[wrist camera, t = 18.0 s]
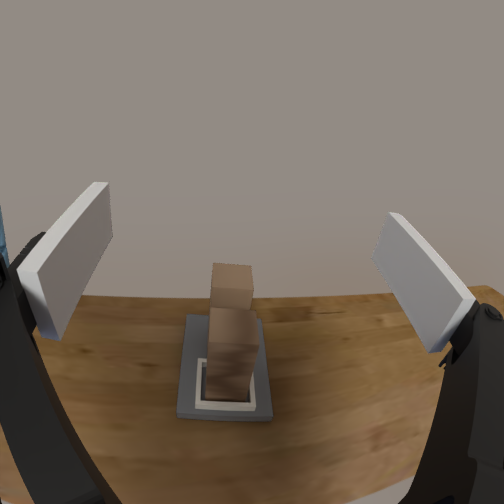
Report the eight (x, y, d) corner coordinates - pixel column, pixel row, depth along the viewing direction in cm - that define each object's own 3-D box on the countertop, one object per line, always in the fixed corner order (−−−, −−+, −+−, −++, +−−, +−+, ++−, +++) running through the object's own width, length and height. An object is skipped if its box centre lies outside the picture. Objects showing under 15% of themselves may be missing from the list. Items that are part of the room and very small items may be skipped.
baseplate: (176, 417, 34) (170, 353, 27) (187, 320, 49) (188, 250, 42) (271, 421, 36) (297, 359, 29) (259, 325, 51) (274, 257, 44)
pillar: (205, 402, 36) (208, 341, 29) (206, 371, 40) (210, 307, 33) (244, 403, 36) (259, 344, 30) (242, 373, 40) (255, 310, 34)
